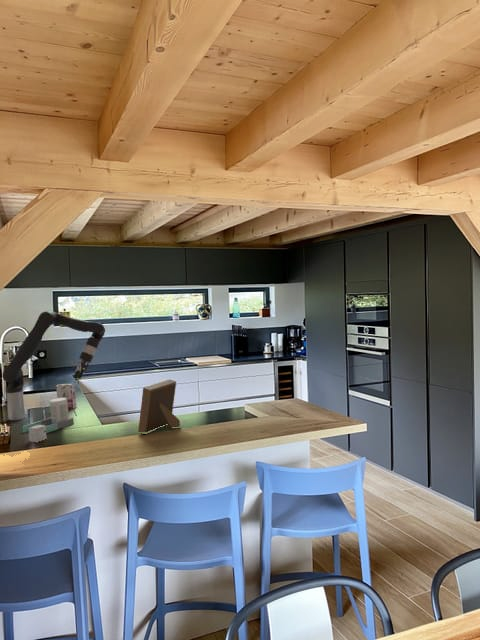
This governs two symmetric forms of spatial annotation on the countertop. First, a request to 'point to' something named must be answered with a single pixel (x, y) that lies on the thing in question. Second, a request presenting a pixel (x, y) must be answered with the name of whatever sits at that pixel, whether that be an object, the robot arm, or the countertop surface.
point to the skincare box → (37, 433)
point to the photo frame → (158, 406)
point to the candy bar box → (67, 394)
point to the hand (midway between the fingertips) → (76, 378)
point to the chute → (49, 427)
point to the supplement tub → (59, 410)
